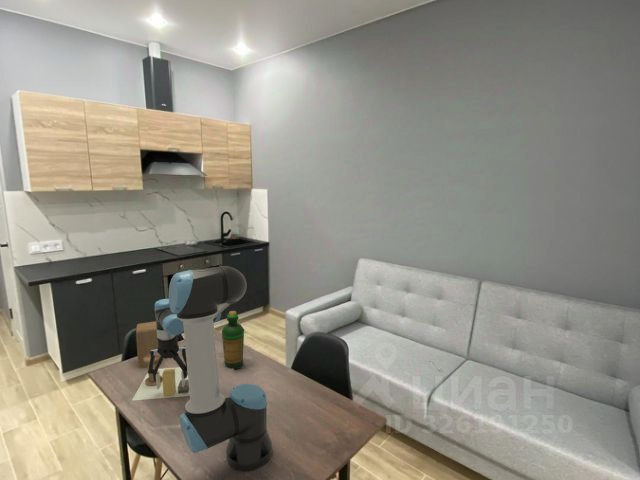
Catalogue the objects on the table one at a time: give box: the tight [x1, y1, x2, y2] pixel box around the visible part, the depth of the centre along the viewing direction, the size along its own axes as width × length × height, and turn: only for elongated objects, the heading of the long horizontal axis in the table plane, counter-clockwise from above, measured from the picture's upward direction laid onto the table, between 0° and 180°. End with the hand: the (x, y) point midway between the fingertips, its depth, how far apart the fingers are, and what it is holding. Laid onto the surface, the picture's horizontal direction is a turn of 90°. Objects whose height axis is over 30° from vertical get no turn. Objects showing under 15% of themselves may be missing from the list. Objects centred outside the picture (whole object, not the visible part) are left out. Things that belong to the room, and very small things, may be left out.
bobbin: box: [144, 353, 163, 386], centre depth 155 cm, size 7×7×12 cm
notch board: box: [178, 372, 189, 393], centre depth 157 cm, size 19×4×3 cm, turn 10°
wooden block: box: [135, 320, 159, 369], centre depth 171 cm, size 10×10×20 cm
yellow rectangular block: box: [162, 369, 176, 396], centre depth 147 cm, size 4×4×10 cm
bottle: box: [221, 310, 245, 370], centre depth 170 cm, size 11×11×28 cm
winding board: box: [132, 366, 190, 402], centre depth 156 cm, size 24×22×1 cm
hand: (171, 386), depth 147 cm, fingers open, 9 cm apart
